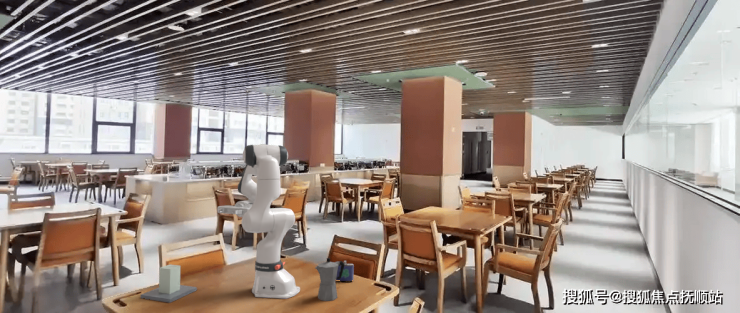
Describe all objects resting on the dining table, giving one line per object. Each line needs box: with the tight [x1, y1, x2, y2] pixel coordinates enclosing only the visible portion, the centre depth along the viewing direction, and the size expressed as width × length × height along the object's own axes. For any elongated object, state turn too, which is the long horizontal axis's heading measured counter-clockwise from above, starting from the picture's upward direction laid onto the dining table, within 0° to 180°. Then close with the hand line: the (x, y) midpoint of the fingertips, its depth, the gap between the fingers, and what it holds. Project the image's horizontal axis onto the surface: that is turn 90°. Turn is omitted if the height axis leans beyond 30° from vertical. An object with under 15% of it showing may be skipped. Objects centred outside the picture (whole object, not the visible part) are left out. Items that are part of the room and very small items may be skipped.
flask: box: [335, 260, 355, 281], centre depth 194 cm, size 9×3×11 cm, turn 88°
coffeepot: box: [314, 257, 345, 302], centre depth 172 cm, size 15×9×18 cm, turn 127°
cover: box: [158, 264, 182, 294], centre depth 171 cm, size 6×6×11 cm
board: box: [139, 284, 198, 304], centre depth 171 cm, size 16×16×6 cm
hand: (226, 212), depth 198 cm, fingers open, 8 cm apart
